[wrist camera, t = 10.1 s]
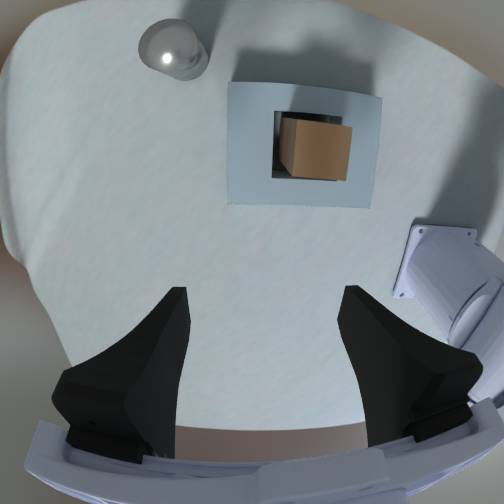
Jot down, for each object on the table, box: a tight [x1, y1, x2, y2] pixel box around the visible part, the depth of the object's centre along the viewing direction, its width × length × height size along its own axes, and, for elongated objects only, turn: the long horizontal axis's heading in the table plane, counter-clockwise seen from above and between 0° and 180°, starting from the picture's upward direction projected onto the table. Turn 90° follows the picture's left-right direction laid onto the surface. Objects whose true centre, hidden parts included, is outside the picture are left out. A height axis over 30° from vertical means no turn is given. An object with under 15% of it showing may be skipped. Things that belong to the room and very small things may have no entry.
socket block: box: [227, 82, 382, 209], centre depth 18 cm, size 10×8×2 cm
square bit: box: [278, 117, 353, 181], centre depth 16 cm, size 3×3×6 cm
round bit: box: [138, 19, 209, 81], centre depth 13 cm, size 3×3×6 cm
